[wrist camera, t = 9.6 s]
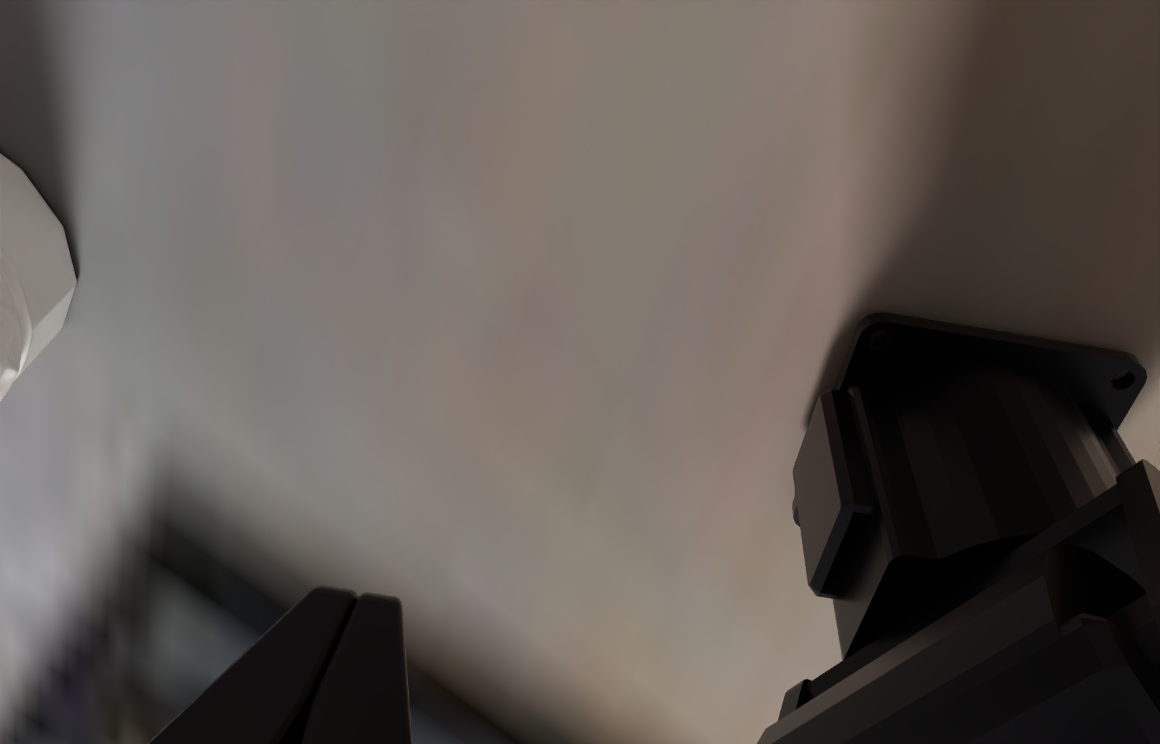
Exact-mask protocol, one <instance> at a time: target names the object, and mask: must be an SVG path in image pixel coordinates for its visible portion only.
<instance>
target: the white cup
mask: <svg viewBox="0 0 1160 744" xmlns="http://www.w3.org/2000/svg"><path fill="white" fill-rule="evenodd" d="M76 284H77V280H76V276H75V272H74V268H73V264H72V260H71V256H70V252H69V248H68V244H67V239H66V235H65V231H64V228H63V226H62V224H61V223H60V221H59V220H58V218H57V217H56V216H55V214H54V213H53V212H52V210H51V209H50V207H49V206H48V205H47V203H46V202H45V201H44V199H43V198H42V196H41V195H40V194H39V192H38V191H37V190H36V188H35V187H34V185H33V184H32V183H31V181H30V180H29V179H28V177H27V176H26V174H25V173H24V172H23V170H22V169H21V168H19V167H18V166H17V165H15V164H14V163H13V162H11V161H10V160H9V159H7V158H6V157H5V156H3V155H2V154H1V153H0V402H1V400H2V399H3V397H4V396H5V394H6V393H7V391H8V390H9V388H10V387H11V385H12V384H13V382H14V380H15V379H16V378H17V377H18V376H19V375H20V374H21V373H22V372H23V371H24V370H25V369H26V368H27V366H28V365H29V364H30V363H31V362H32V361H33V360H34V359H35V358H36V357H37V355H38V354H39V353H40V352H41V351H42V350H43V349H44V348H45V347H46V346H47V345H48V343H49V342H50V341H51V340H52V339H53V338H54V337H55V336H56V335H57V334H58V332H59V331H60V330H61V329H62V327H63V325H64V322H65V319H66V316H67V312H68V309H69V306H70V303H71V300H72V297H73V294H74V291H75V288H76Z"/></svg>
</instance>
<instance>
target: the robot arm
mask: <svg viewBox="0 0 1160 744" xmlns="http://www.w3.org/2000/svg"><path fill="white" fill-rule="evenodd" d="M878 331H886V332H888V333H889V334H888V335H887V336H886V338H884V339H882V340H872V339H870V337H871V336H872V334H874V333H876V332H878ZM1122 371H1128V372H1127V373H1126V374H1125V375H1124V376H1123V377H1121V378H1119V379H1111V378H1112V377H1113V376H1114V375H1115V374H1117V373H1119V372H1122ZM1146 379H1147V374H1146V370H1145V368H1144V367H1143V366H1142V364H1141V363H1140V361H1139V360H1138V359H1137V358H1136V357H1135V356H1134V355H1132V354H1129V353H1127V352H1121V351H1115V350H1109V349H1103V348H1097V347H1091V346H1085V345H1078V344H1072V343H1066V342H1060V341H1054V340H1048V339H1042V338H1036V337H1030V336H1024V335H1018V334H1012V333H1006V332H1000V331H994V330H988V329H982V328H976V327H969V326H963V325H957V324H951V323H945V322H939V321H933V320H927V319H921V318H915V317H909V316H903V315H897V314H891V313H873V314H870V315H867V316H866V317H865V318H863V319H862V320H861V321H860V322H859V324H858V325H857V327H856V330H855V332H854V335H853V338H852V341H851V343H850V346H849V349H848V352H847V354H846V357H845V360H844V363H843V365H842V368H841V371H840V374H839V376H838V379H837V382H836V385H835V387H834V389H832V388H829V389H828V390H826V391H825V392H823V393H822V394H821V395H819V397H818V400H817V403H816V405H815V408H814V411H813V414H812V417H811V420H810V422H809V425H808V428H807V431H806V434H805V437H804V439H803V442H802V445H801V448H800V451H799V454H798V456H797V459H796V462H795V465H794V468H793V478H794V485H795V492H796V495H795V497H794V500H793V504H792V511H793V518H794V521H795V523H796V524H797V525H798V526H799V527H800V529H801V536H802V544H803V551H804V558H805V566H806V573H807V580H808V585H809V587H810V588H811V590H812V591H813V592H814V594H815V595H816V596H819V597H825V598H831V599H833V605H834V611H835V617H836V623H837V629H838V636H839V642H840V648H841V654H842V660H843V661H842V662H840V663H839V664H837V665H836V666H834V667H833V668H831V669H830V670H828V671H826V672H825V673H823V674H822V675H820V676H819V677H817V678H816V679H814V680H813V681H811V680H809V679H805V680H803V681H801V682H800V683H798V684H797V685H795V686H794V687H792V688H791V689H789V690H788V691H787V692H786V693H785V697H784V700H783V704H782V708H781V711H780V715H779V719H778V721H777V722H776V723H774V724H773V725H771V726H769V727H768V728H766V729H765V731H764V732H763V734H762V736H761V737H760V739H759V741H758V742H757V744H1160V471H1159V470H1158V469H1157V468H1155V467H1154V466H1153V465H1151V464H1150V463H1149V462H1148V461H1146V460H1144V459H1142V460H1141V461H1139V462H1138V463H1136V462H1135V461H1134V459H1133V457H1132V456H1131V454H1130V452H1129V451H1128V449H1127V447H1126V446H1125V444H1124V442H1123V440H1122V439H1121V437H1120V435H1119V434H1118V432H1117V429H1118V428H1119V426H1120V424H1121V423H1122V421H1123V419H1124V418H1125V416H1126V414H1127V413H1128V411H1129V409H1130V408H1131V406H1132V404H1133V403H1134V401H1135V399H1136V398H1137V396H1138V394H1139V393H1140V391H1141V389H1142V388H1143V386H1144V384H1145V382H1146ZM147 744H412V734H411V720H410V707H409V693H408V679H407V665H406V651H405V637H404V623H403V610H402V602H401V600H400V599H399V598H398V597H394V596H388V595H382V594H376V593H369V592H365V593H362V594H360V596H358V593H357V592H356V591H354V590H351V589H345V588H339V587H333V586H327V585H319V586H316V587H314V588H312V589H311V590H310V591H309V592H308V593H307V594H306V595H305V596H303V597H302V598H301V599H300V600H299V601H298V602H297V603H296V604H295V605H294V606H293V607H292V608H291V609H290V610H289V611H288V612H286V613H285V614H284V615H283V616H282V617H281V618H280V619H279V620H278V621H277V622H276V623H275V624H274V625H273V626H272V627H271V628H269V629H268V630H267V631H266V632H265V633H264V634H263V635H262V636H261V637H260V638H259V639H258V640H257V641H256V642H255V643H254V644H252V645H251V646H250V647H249V648H248V649H247V650H246V651H245V652H244V653H243V654H242V655H241V656H240V657H239V658H238V659H237V660H236V661H234V662H233V663H232V664H231V665H230V666H229V667H228V668H227V669H226V670H225V671H224V672H223V673H222V674H221V675H220V676H219V677H217V678H216V679H215V680H214V681H213V682H212V683H211V684H210V685H209V686H208V687H207V688H206V689H205V690H204V691H203V692H202V693H200V694H199V695H198V696H197V697H196V698H195V699H194V700H193V701H192V702H191V703H190V704H189V705H188V706H187V707H186V708H185V709H183V710H182V711H181V712H180V713H179V714H178V715H177V716H176V717H175V718H174V719H173V720H172V721H171V722H170V723H169V724H168V725H167V726H165V727H164V728H163V729H162V730H161V731H160V732H159V733H158V734H157V735H156V736H155V737H154V738H153V739H152V740H151V741H150V742H148V743H147Z"/></svg>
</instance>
